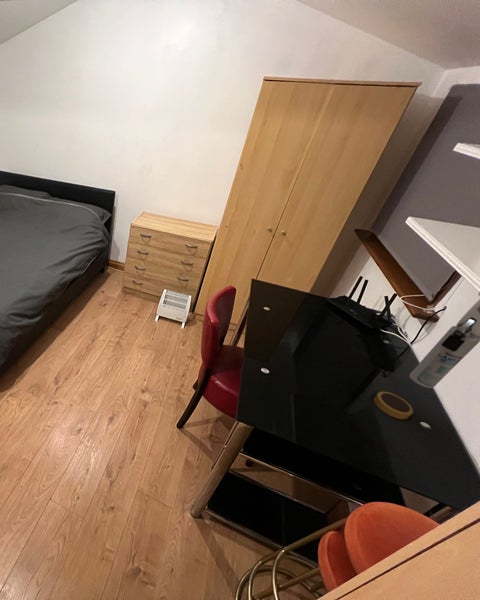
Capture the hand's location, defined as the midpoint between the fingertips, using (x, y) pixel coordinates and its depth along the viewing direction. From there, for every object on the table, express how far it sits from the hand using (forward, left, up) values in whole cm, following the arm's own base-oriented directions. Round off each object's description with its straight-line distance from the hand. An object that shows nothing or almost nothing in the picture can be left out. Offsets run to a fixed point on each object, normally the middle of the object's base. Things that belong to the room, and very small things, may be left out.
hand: (454, 345), depth 96 cm
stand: (+1, -2, -31) cm, 31 cm away
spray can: (0, 0, -15) cm, 15 cm away
